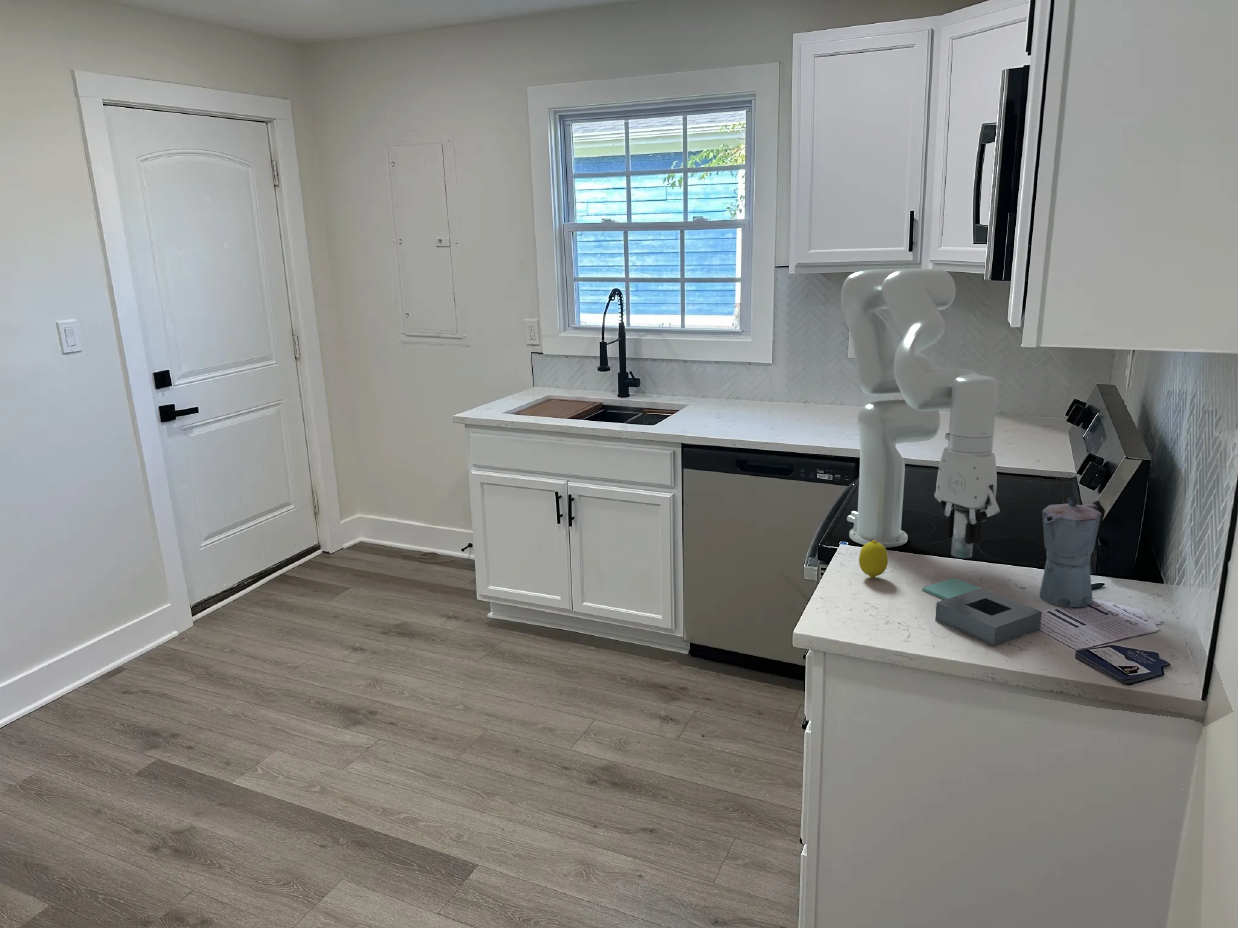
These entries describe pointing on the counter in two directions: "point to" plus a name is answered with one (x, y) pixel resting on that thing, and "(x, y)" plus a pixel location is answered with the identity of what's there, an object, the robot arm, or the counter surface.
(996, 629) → the socket block
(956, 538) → the clear capped vial
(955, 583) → the pad
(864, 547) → the lemon
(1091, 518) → the moka pot
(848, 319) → the robot arm
